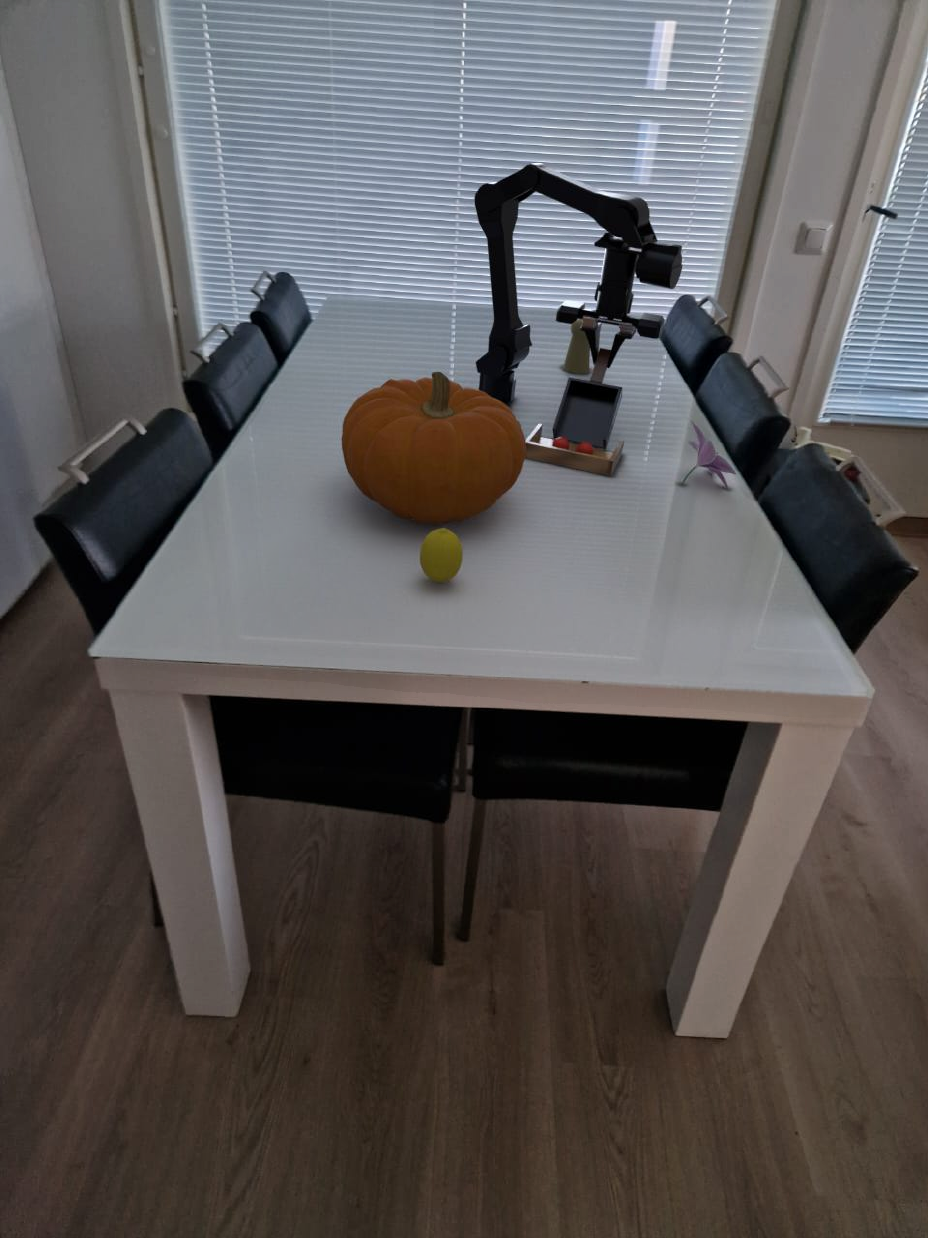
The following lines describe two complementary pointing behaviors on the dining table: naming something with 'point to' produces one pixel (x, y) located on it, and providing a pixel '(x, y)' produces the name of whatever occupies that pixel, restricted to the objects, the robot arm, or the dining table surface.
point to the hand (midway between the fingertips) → (602, 366)
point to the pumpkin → (432, 449)
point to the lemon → (441, 555)
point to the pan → (589, 407)
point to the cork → (577, 351)
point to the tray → (571, 454)
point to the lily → (709, 457)
